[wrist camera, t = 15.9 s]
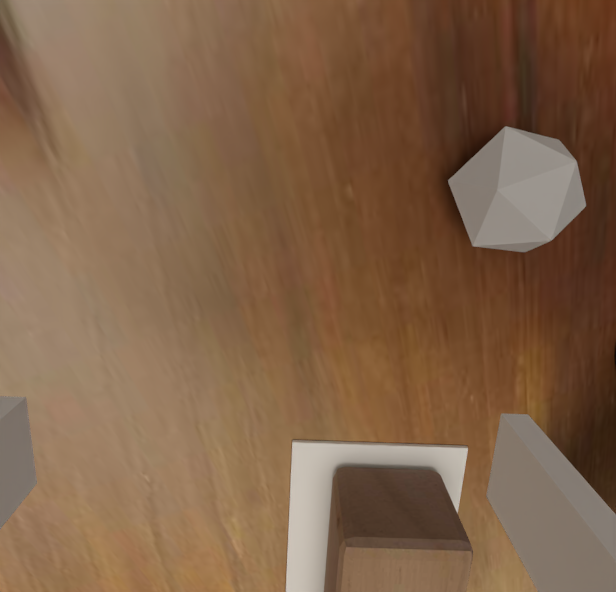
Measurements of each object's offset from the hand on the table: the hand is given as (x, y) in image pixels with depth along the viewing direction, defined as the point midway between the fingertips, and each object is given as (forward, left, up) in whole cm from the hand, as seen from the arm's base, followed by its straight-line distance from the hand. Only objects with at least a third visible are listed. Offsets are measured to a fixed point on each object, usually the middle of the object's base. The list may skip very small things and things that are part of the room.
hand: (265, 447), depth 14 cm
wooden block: (-10, +39, -21) cm, 46 cm away
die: (-16, -6, -27) cm, 32 cm away
